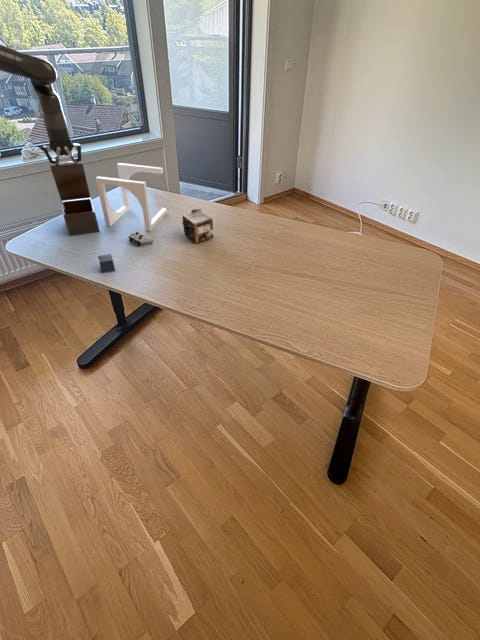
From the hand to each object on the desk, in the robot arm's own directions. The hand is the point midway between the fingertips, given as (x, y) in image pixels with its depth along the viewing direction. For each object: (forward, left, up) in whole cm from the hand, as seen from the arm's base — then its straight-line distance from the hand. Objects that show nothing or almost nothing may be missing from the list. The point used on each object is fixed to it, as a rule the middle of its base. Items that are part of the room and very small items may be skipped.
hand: (69, 172), depth 139 cm
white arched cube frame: (+23, -8, -20) cm, 31 cm away
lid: (0, -3, -3) cm, 4 cm away
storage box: (0, -8, -20) cm, 21 cm away
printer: (+43, -35, -20) cm, 59 cm away
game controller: (+20, -29, -20) cm, 40 cm away
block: (+5, -45, -20) cm, 49 cm away
